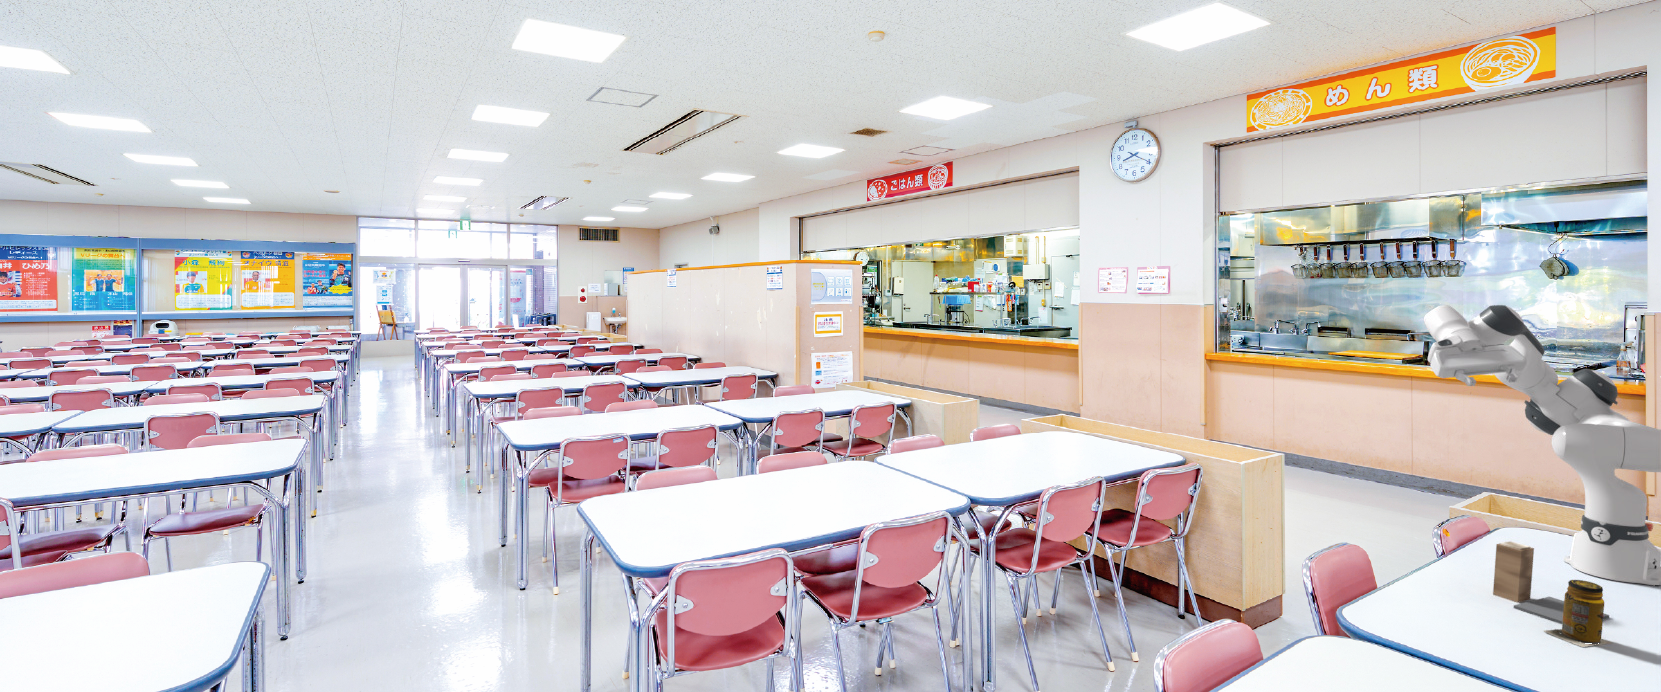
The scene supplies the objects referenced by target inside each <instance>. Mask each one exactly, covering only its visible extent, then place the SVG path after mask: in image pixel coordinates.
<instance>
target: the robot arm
mask: <svg viewBox="0 0 1661 692" xmlns="http://www.w3.org/2000/svg"><path fill="white" fill-rule="evenodd" d="M1423 323H1424V326H1425V328H1426V329H1427V332H1428V333H1429V334H1430V336H1431V337H1432V338H1433V339H1434V340H1435V342H1433V343H1432V345H1431V347H1430V349H1429V352H1428V356H1427V361H1428V363H1430V368H1431V370H1432V372H1433V373H1434V374H1435V376H1436V377H1438V378H1441V379H1449V378H1455V379H1457V380H1458V381H1461V382H1462V383H1465V385H1466V386H1467V387H1475V386H1476V384H1477V380H1476V379H1475V378H1474V377H1473V376H1480V375H1491V374H1494V376H1495V377H1496V379H1497V380H1499V381H1500V382H1501V383H1502V384H1504V385H1506V386H1507V387H1509V388H1511V389H1513V390H1516V391H1518V392H1521V393H1522V394H1524V395H1526V396H1528V397H1529V398H1530V401H1528V400H1526V399H1525V400H1524V404H1525V408H1524V412H1525V413H1524V414H1525V417H1526V419H1527V420H1528V422H1529V423H1530V425H1531V426H1532V427H1533V428H1534V429H1536V430H1538V431H1539V432H1542V433H1544V434H1547V435H1550V436H1552V437H1551V439H1550V440H1551V441H1550V443H1551V447H1552V448H1551V449H1552V450H1553V452H1554V453H1555V455H1556V456H1557V457H1558V458H1559V459H1561V460H1562V461H1563V462H1565V463H1566V464H1568V465H1569V466H1570V467H1571V468H1572V469H1573V470H1574V471H1575V473H1576V474H1577V475H1578V476H1579V478H1580V479H1581V482H1582V484H1583V489H1584V514H1582V516H1581V520H1580V529H1581V530H1579V531H1578V532H1575V533H1574V535H1573V539H1572V545H1571V550H1570V556H1565V557H1563V561H1564V562H1566V563H1567V564H1569V565H1571V567H1572V568H1574V569H1575V570H1578V571H1580V572H1582V573H1585V574H1588V575H1591V576H1595V577H1599V578H1602V579H1607V580H1612V581H1617V582H1624V583H1634V584H1643V585H1649V586H1655V585H1660V586H1661V550H1660V549H1658V548H1657V547H1656V546H1655V544H1653V543H1652V541H1651V540H1650V539H1649V538H1650V535H1649V534H1650V533H1649V532H1652V531H1653V528H1654V525H1653V523H1648V522H1646V521H1647V520H1646V519H1647V507H1648V498H1647V495H1646V494H1645V492H1644V491H1643V490H1642V489H1640V488H1639V487H1638V486H1635V485H1634V484H1633V483H1632V484H1631V483H1630V482H1628V481H1626V480H1623V479H1621V478H1619V477H1617V476H1616V473H1615V470H1618V469H1619V470H1620V469H1621V470H1630V471H1638V472H1646V473H1647V472H1650V473H1661V428H1660V429H1659V428H1655V427H1653V426H1649V425H1645V424H1642V423H1638V422H1634V421H1631V420H1630V419H1629V418H1627V417H1626V416H1625V415H1623V414H1621V413H1619V412H1618V411H1617V412H1616V411H1615V410H1614V409H1612V408H1611V407H1612V406H1613V404H1614V405H1616V406H1617V405H1618V404H1619V402H1618V401H1617V397H1618V395H1619V393H1618V387H1617V386H1616V384H1615V382H1614V381H1613V380H1612V379H1611V378H1610V377H1609V376H1608V375H1606V374H1604V373H1603V372H1600V371H1596V370H1592V369H1590V368H1583V369H1580V370H1578V371H1575V372H1574V373H1572V374H1571V376H1570V377H1568V378H1566V379H1564V380H1562V381H1561V382H1560V383H1559V376H1558V373H1557V372H1556V371H1555V370H1554V368H1553V367H1552V366H1551V365H1550V364H1549V363H1548V362H1546V361H1544V360H1543V359H1542V358H1543V356H1544V354H1545V353H1546V352H1545V348H1544V346H1543V345H1542V343H1541V342H1540V340H1539V339H1538V338H1537V337H1536V336H1535V335H1534V334H1533V333H1532V331H1531V330H1530V329H1529V328H1528V327H1527V326H1526V324H1525V322H1524V320H1523V319H1522V317H1521V315H1520V314H1519V313H1518V312H1517V311H1516V310H1514V309H1513V308H1512V307H1510V306H1508V305H1505V304H1504V305H1503V304H1497V305H1495V304H1493V305H1489V306H1488V307H1487V308H1485V309H1484V310H1483V311H1481V312H1480V313H1479V314H1478V315H1476V316H1475V317H1473V318H1472V319H1471V320H1469V321H1467V319H1466V318H1465V317H1464V316H1463V315H1461V313H1460V312H1459V311H1457V310H1456V309H1455V308H1453V306H1450V305H1449V304H1442V305H1439V306H1436V307H1434V308H1432V309H1431V310H1429V311H1428V312H1426V314H1425V315H1424V317H1423ZM1513 338H1514V340H1513V341H1511V342H1510V344H1508V345H1507V344H1505V343H1507V342H1508V341H1510V340H1512V339H1513Z"/></svg>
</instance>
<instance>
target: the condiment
mask: <svg viewBox="0 0 1661 692" xmlns="http://www.w3.org/2000/svg"><path fill="white" fill-rule="evenodd" d="M1567 584H1568V587H1566V590H1567V591H1566V592H1565V593H1564V599H1563V601H1564V610H1563V622H1562V624H1561V628H1558V629H1557V628H1555V629H1550V630H1549V629H1548V630H1547V629H1546V630H1543V632H1545V633H1547V634H1549V635H1551V636H1553V637H1556V638H1558V639H1560V640H1563V641H1565V642H1568V643H1570V644H1573V645H1576V646H1579V647H1580V648H1581V647H1582V648H1584V647H1587V648H1588V647H1592V646H1602V645H1607V644H1609V645H1610V644H1613V641H1610V640H1607V639H1604V638H1602V633H1603V624H1604V619H1603V614H1605V613H1604V610H1605V599H1603V597H1604V595H1603V594H1604V592H1603V591H1604V589H1603V586H1601V585H1600V584H1597V583H1594V582H1591V581H1586V580H1583V579H1582V580H1581V579H1571V580H1568V582H1567ZM1585 643H1592V644H1585ZM1598 643H1599V644H1598ZM1595 644H1596V645H1595Z"/></svg>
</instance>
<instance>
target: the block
mask: <svg viewBox="0 0 1661 692" xmlns="http://www.w3.org/2000/svg"><path fill="white" fill-rule="evenodd" d="M1495 546H1496V548H1495V559H1494V560H1495V561H1494V573H1493V574H1494V575H1493V576H1494V577H1493V588H1492V589H1493V590H1492V595H1494V596H1495V597H1496V596H1497V597H1500V598H1503V599H1505V600H1509V601H1511V602H1514V603H1518V604H1519V603H1521V602H1522V603H1523V602H1527V601H1531V595H1532V594H1531V593H1532V582H1533V581H1532V580H1533V579H1532V578H1533V567H1534V566H1533V565H1534V553H1535V552H1534V551H1535V548H1534V547H1531V546H1529V545H1525V544H1523V543H1519V542H1514V541H1512V540H1510V541H1504V542H1499V543H1496V545H1495Z"/></svg>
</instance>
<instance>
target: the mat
mask: <svg viewBox="0 0 1661 692" xmlns="http://www.w3.org/2000/svg"><path fill="white" fill-rule="evenodd" d="M1513 609H1516V610H1519V611H1522V612H1525V613H1528V614H1531V615H1534V616H1537V617H1539V616H1540V617H1541V618H1543V619H1546V620H1548V621H1551V622H1555V623H1557V624H1561V625H1562V622H1563V610H1564V600H1561V599H1559V598H1555V597H1552V596H1546V597H1542V598H1538V599H1534V600H1528V601H1524V602H1522V603H1521V602H1520V603H1518V604H1514V605H1513ZM1609 618H1610V614H1607V613H1604V614H1603V620H1606V619H1609Z"/></svg>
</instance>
